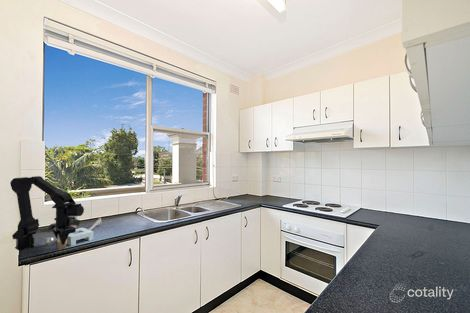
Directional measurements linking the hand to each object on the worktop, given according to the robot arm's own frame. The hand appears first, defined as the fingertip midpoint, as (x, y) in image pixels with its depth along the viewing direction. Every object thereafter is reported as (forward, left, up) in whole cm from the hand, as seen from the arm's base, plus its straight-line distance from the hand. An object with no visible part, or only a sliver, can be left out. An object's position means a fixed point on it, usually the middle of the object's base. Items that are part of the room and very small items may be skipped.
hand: (61, 243), depth 122 cm
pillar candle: (+17, +36, -3) cm, 40 cm away
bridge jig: (+10, +6, -2) cm, 12 cm away
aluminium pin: (-2, +11, -3) cm, 11 cm away
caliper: (+26, +20, -3) cm, 33 cm away
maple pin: (0, 0, -2) cm, 2 cm away
